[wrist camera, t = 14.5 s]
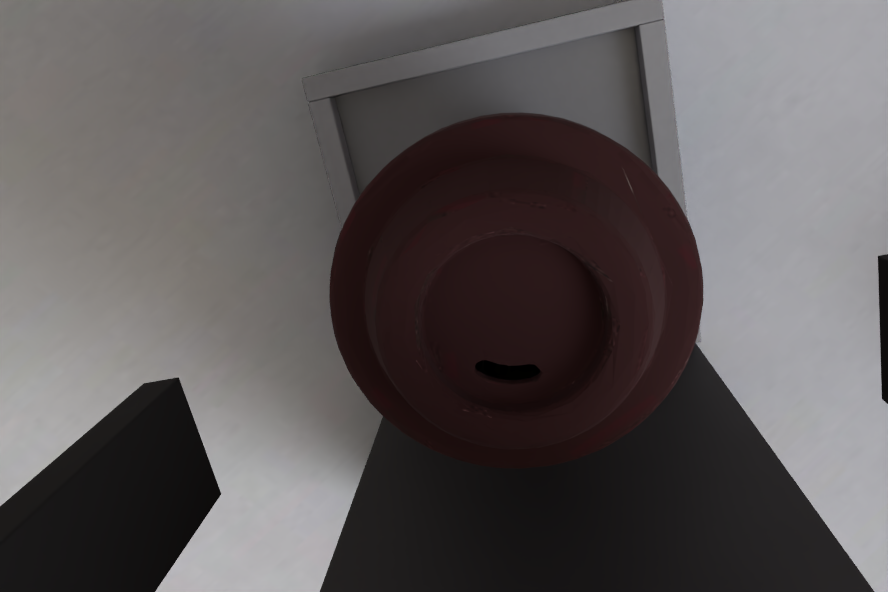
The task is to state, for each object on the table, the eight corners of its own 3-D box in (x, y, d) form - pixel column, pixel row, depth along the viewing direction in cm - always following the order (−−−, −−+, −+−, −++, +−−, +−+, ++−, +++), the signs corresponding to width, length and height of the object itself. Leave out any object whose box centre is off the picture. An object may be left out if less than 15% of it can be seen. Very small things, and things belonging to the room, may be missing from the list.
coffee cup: (490, 49, 28) (475, 22, 14) (667, 192, 30) (817, 298, 15) (358, 231, 31) (238, 358, 17) (524, 354, 33) (541, 568, 18)
